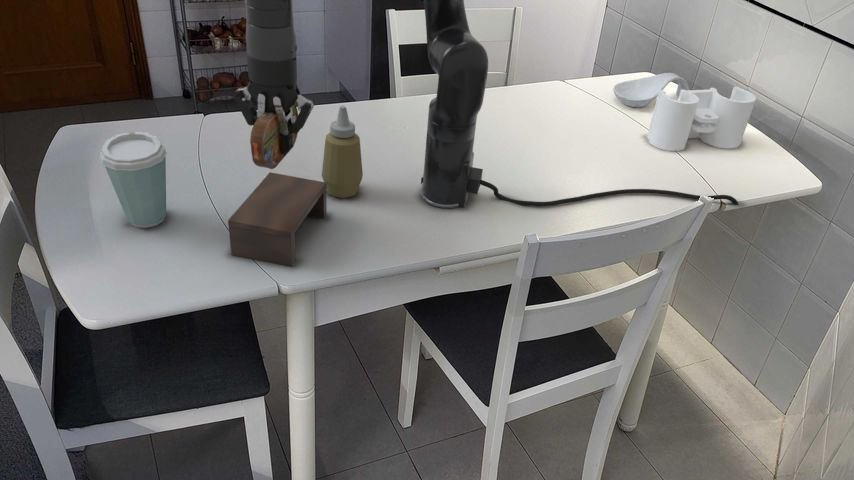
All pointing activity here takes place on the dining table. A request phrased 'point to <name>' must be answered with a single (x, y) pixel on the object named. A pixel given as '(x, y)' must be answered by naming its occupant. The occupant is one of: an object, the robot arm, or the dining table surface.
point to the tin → (268, 140)
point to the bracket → (700, 118)
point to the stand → (275, 217)
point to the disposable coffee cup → (137, 176)
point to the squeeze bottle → (342, 157)
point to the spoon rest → (646, 89)
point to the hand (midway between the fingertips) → (276, 150)
